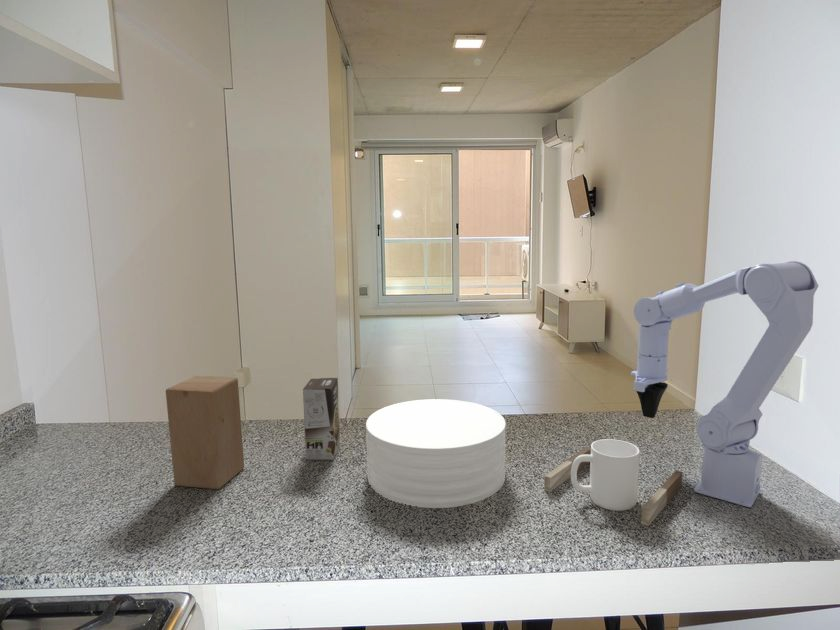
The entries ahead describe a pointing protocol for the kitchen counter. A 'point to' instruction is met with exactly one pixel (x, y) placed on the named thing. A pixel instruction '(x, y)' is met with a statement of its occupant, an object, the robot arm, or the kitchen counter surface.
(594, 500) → the cup
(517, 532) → the kitchen counter surface
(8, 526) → the kitchen counter surface
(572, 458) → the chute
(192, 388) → the wooden block
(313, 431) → the coffee box
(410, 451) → the plate stack
